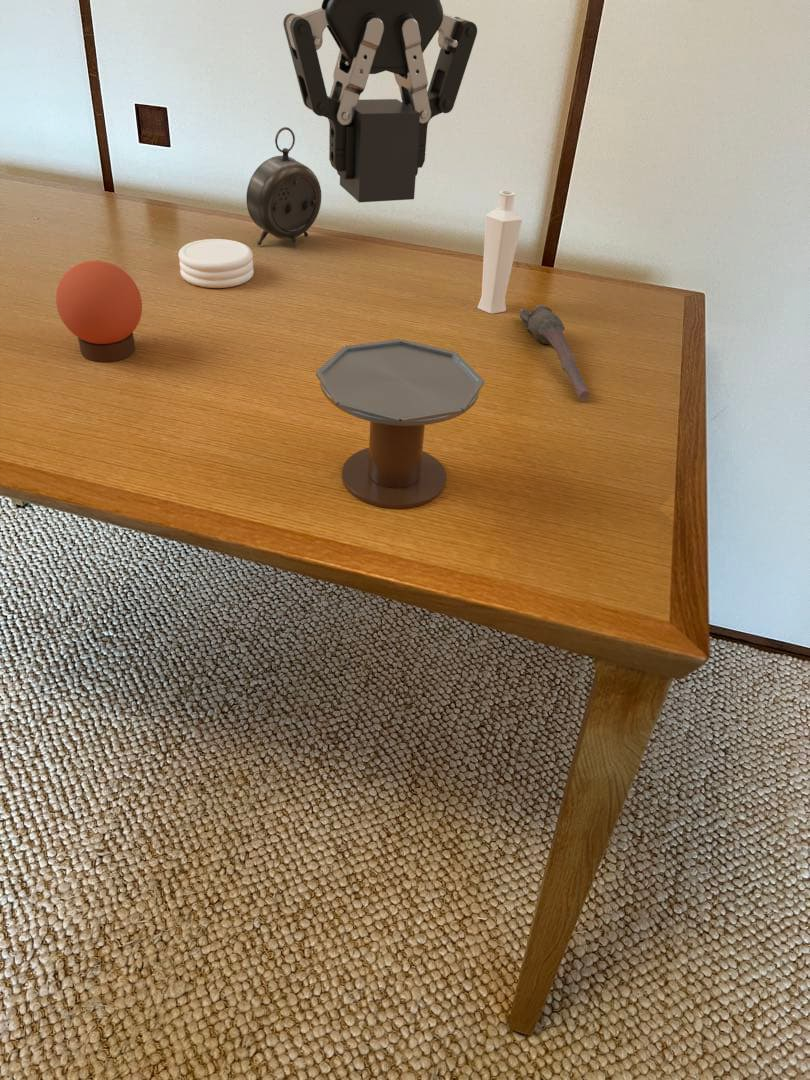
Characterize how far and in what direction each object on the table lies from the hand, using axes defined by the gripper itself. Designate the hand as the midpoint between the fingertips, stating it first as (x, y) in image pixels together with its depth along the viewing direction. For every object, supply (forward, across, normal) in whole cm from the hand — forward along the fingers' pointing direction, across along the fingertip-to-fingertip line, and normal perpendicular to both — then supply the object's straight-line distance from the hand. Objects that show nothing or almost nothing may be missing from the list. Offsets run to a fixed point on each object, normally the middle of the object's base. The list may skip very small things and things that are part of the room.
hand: (376, 173), depth 62 cm
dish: (+27, -2, +2) cm, 27 cm away
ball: (+27, +20, -31) cm, 46 cm away
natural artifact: (+27, -30, -16) cm, 43 cm away
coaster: (+27, +4, -50) cm, 57 cm away
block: (+1, 0, 0) cm, 1 cm away
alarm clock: (+27, -9, -60) cm, 67 cm away
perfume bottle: (+27, -30, -31) cm, 50 cm away
